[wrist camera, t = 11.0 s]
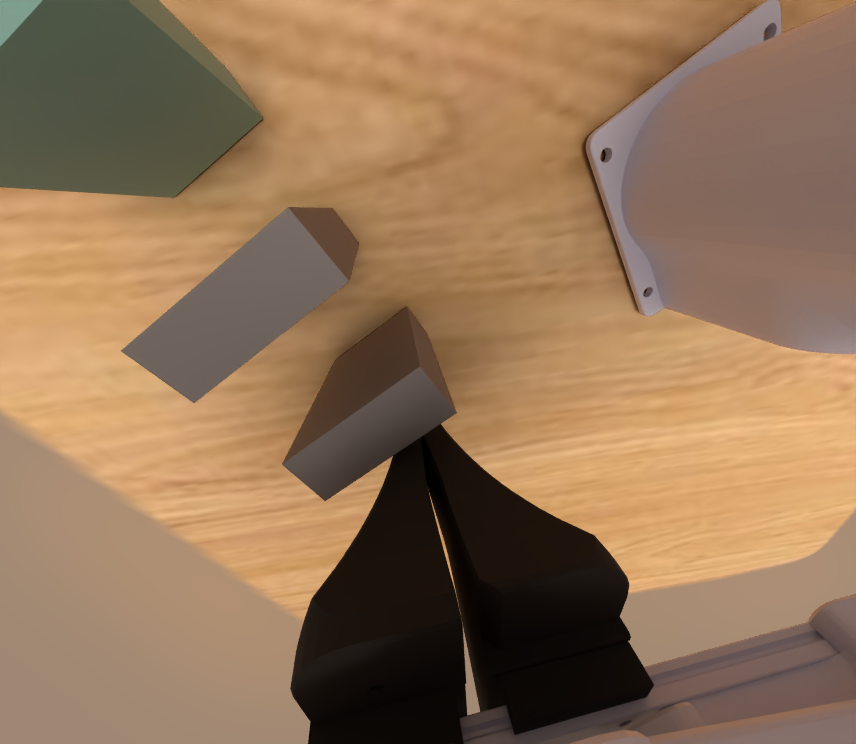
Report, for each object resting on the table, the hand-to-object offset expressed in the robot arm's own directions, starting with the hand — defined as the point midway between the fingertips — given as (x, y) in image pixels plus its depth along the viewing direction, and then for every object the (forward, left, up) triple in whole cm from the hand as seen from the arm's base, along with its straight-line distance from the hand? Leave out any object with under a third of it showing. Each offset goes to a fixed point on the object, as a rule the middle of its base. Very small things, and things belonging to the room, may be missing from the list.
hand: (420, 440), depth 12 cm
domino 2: (+2, 0, -5) cm, 6 cm away
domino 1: (+7, 0, -5) cm, 9 cm away
